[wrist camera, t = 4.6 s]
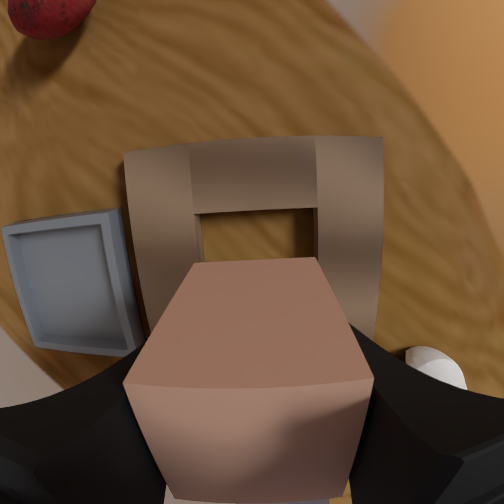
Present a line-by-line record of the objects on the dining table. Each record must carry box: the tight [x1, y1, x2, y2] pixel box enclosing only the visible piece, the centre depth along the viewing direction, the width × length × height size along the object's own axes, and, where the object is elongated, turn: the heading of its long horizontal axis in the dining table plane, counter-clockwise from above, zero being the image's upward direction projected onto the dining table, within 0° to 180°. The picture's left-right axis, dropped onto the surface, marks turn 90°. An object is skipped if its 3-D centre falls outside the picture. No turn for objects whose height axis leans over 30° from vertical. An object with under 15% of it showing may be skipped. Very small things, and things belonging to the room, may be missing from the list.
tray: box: [1, 207, 146, 357], centre depth 19 cm, size 10×10×2 cm
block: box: [123, 257, 374, 504], centre depth 9 cm, size 4×4×7 cm
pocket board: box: [123, 136, 384, 341], centre depth 18 cm, size 14×14×2 cm
